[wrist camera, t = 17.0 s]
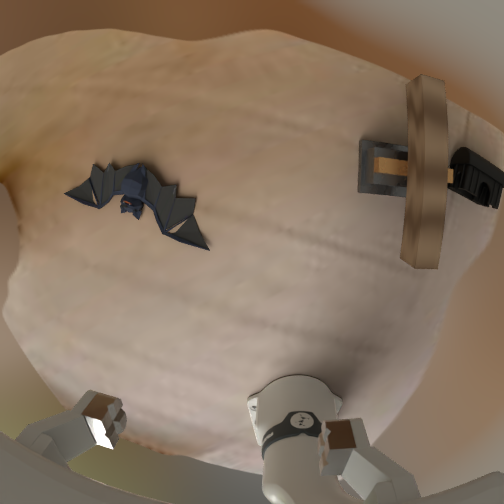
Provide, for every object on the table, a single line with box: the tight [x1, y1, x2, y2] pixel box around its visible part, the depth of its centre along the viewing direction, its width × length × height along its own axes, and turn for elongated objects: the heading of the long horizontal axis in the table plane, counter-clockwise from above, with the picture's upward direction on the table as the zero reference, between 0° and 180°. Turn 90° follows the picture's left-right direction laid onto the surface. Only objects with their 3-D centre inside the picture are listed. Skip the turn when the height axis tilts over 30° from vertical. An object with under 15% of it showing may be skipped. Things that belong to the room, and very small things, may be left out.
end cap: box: [447, 147, 504, 209], centre depth 37 cm, size 10×7×7 cm
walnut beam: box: [400, 74, 448, 269], centre depth 32 cm, size 24×4×5 cm, turn 179°
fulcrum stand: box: [358, 140, 453, 197], centre depth 38 cm, size 8×13×8 cm, turn 88°
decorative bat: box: [64, 163, 210, 251], centre depth 44 cm, size 30×4×10 cm
